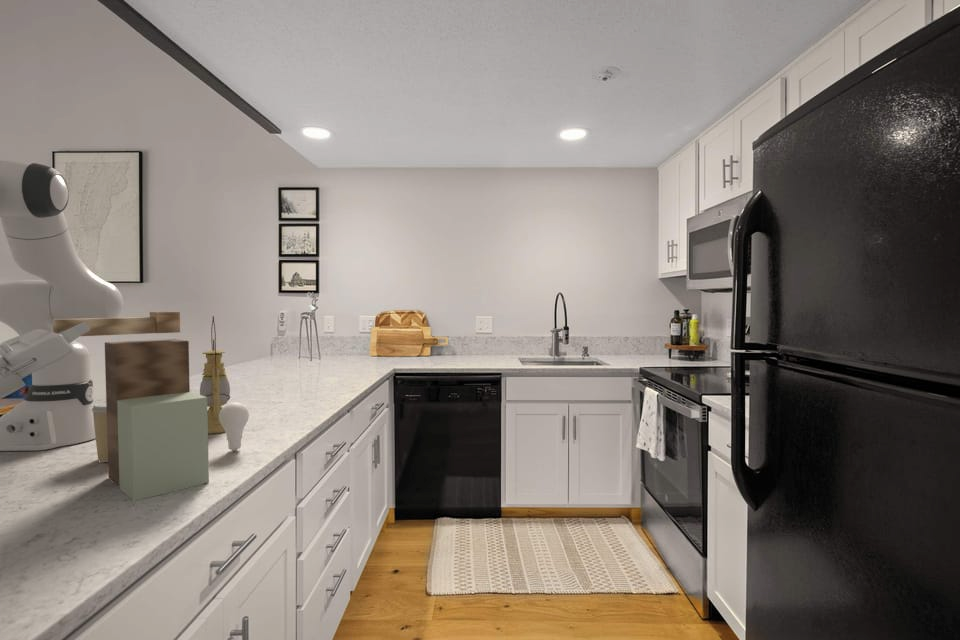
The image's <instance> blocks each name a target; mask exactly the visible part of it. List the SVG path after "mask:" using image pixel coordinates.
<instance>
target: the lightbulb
mask: <svg viewBox="0 0 960 640" xmlns="http://www.w3.org/2000/svg"><path fill="white" fill-rule="evenodd" d="M249 417H250V413H249V409H248V408H247V407H246V406H245V404H243V403H240V402H237V401H236V402H235V401H233V402H229V403H226V404H225V405H223V407H222V409H221V411H220V413H219V421H220V423H221V425H222V426H223V428H224V430H225V432H224V433H225V435H226V441H227V443H228V444H227V446H228V450H231V451H232V452H237V451H238V450H239V449H241V446H242V439H243V433H244V429H245V427H246V425H247V423H248V421H249Z"/></svg>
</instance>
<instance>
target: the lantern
mask: <svg viewBox="0 0 960 640" xmlns="http://www.w3.org/2000/svg"><path fill="white" fill-rule="evenodd" d="M213 327H214V328H213ZM213 329H214V339H213ZM210 331H211V341H212V344H211V350H205V351H202V354H203V355H205V359H206V361H207V362H204V368H203V373H202V374H201V375H202V378H201V379H202V380H201V382H200V385H199V395H202V396H205V397H207V414H208V435H212V434H213V433H215V434H222V433H226V432H225V430H224V428H223V426H222V425H221V423H220V421H219V413H220V411H221V409H222V408H223V407H224V406H225V405H227V404H228V402H229V401H230V399H231V396H230V394H231V393H230V392H231V386H230V385H231V384H230V381H229V379H228V376H227V372H226V369H225V368H226V367H225V366H224V365H225V363H224V362H223V361H222V357H223V354H225V353H226V351H225V350H219V349H218V350H217V349H216V348H217V343H216V342H217V340H216V338H217V336H216V335H217V334H216V333H217V332H216V324H215V316H214V315H213V316H212V322H211V330H210ZM222 406H223V407H222ZM213 435H214V434H213Z"/></svg>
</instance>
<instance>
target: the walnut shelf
mask: <svg viewBox="0 0 960 640" xmlns="http://www.w3.org/2000/svg"><path fill="white" fill-rule="evenodd" d="M189 343H190V342H189V340H184V339H176V338H168V339H167V338H166V339H147V340H145V339H144V340H130V341H129V340H128V341H109V342H108V341H106V342H104V365H105V368H104V369H105V370H104V371H105V372H104V373H105V401H106V409H107V444H108V463H107V472H108V473H107V474H108V475H107V477H109V478H110V479H111V480H112V481H113V482H114V483H113V482H112V481H111V480H110V479H109V478H108V479H109V480H110V481H111V482H112V483H113V484H115V485H116V486H117V487H118V486H119V487H118V488H119V489H120V483H119V446H118V410H117V400H124V399H132V398H141V397H149V396H157V395H166V394H174V393H183V392H191V391H190V347H189V345H190V344H189Z"/></svg>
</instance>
